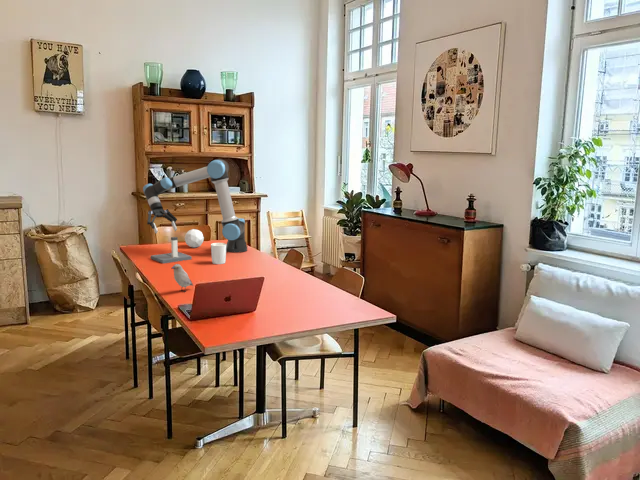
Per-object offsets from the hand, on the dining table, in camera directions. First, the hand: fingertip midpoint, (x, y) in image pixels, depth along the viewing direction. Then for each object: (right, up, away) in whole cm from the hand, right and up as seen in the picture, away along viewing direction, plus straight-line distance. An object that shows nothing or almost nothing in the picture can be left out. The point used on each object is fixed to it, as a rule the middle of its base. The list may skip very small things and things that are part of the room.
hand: (166, 231), depth 349 cm
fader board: (+4, -18, -2) cm, 18 cm away
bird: (+29, -32, -73) cm, 85 cm away
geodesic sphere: (+10, -11, +37) cm, 39 cm away
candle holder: (+36, -20, -9) cm, 42 cm away
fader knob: (+7, -17, -6) cm, 19 cm away
